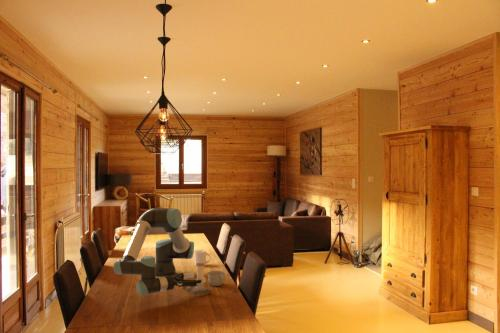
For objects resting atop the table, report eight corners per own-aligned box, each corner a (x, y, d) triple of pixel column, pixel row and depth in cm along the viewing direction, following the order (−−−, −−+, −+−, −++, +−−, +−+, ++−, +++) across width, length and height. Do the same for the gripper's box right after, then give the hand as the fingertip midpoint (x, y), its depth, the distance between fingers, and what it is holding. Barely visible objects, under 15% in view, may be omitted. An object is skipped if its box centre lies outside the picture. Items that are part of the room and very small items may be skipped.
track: (182, 288, 255) (182, 281, 255) (193, 286, 260) (193, 279, 260) (198, 296, 239) (198, 289, 239) (210, 293, 244) (210, 286, 244)
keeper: (194, 290, 246) (194, 263, 246) (201, 288, 249) (201, 262, 249) (199, 292, 241) (199, 265, 241) (206, 291, 244) (206, 263, 244)
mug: (210, 266, 311) (210, 252, 311) (194, 267, 310) (194, 252, 310) (210, 263, 320) (210, 249, 320) (194, 264, 319) (194, 250, 319)
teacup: (206, 283, 266) (206, 270, 266) (222, 281, 269) (222, 269, 269) (212, 289, 252) (211, 276, 252) (229, 287, 256) (229, 274, 256)
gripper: (156, 285, 240) (189, 279, 253) (175, 295, 220) (210, 288, 233) (155, 272, 240) (189, 266, 253) (175, 281, 220) (210, 275, 233)
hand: (199, 277), depth 243 cm, fingers open, 13 cm apart
